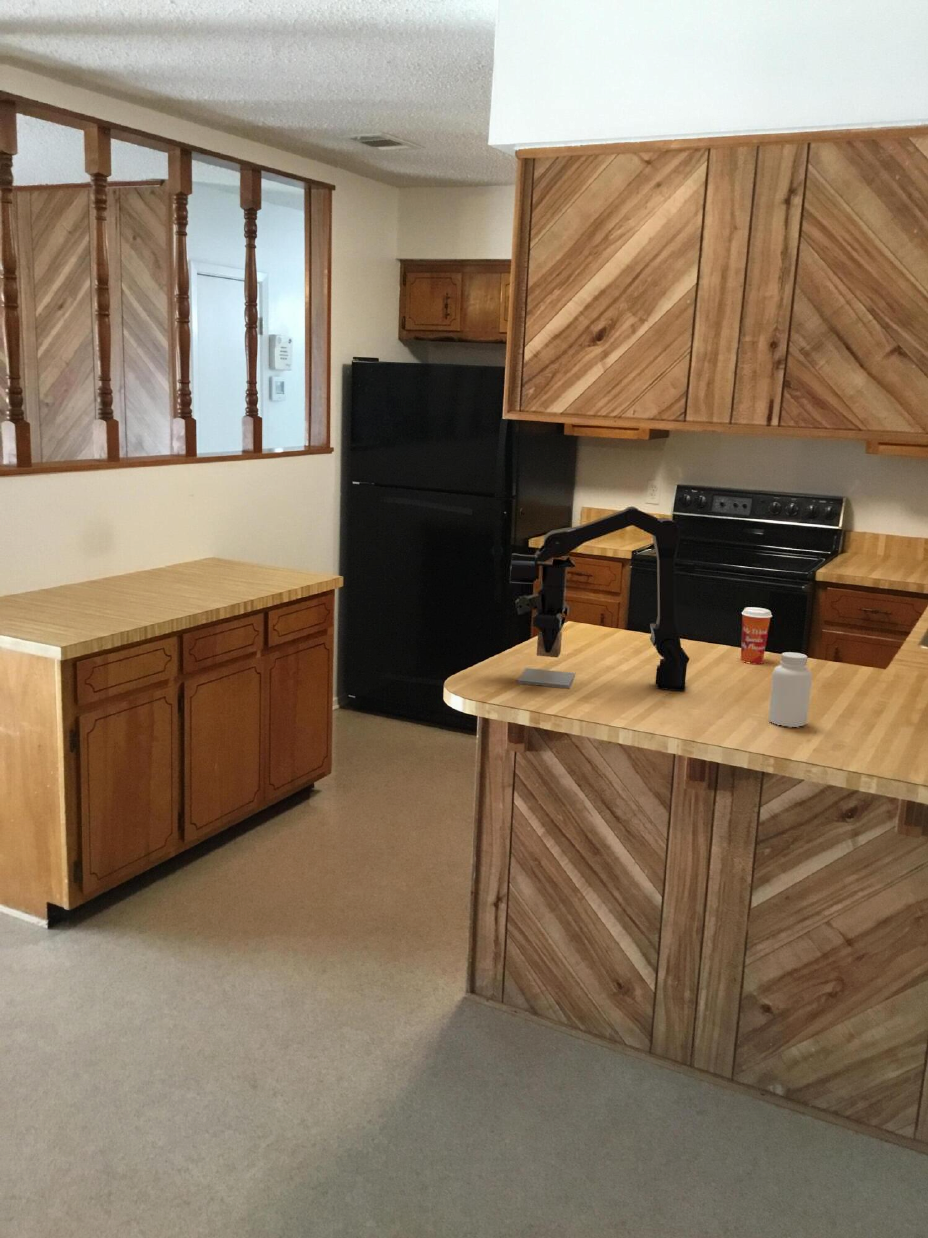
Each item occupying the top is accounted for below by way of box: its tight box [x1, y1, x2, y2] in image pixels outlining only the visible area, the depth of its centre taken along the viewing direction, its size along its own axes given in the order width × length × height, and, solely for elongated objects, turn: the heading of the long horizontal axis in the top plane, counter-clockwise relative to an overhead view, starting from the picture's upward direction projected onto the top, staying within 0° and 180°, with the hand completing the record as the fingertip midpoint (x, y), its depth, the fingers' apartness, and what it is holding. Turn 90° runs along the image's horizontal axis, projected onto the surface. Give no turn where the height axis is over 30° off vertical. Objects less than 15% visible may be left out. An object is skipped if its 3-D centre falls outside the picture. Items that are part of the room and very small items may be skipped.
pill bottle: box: [768, 651, 813, 728], centre depth 228 cm, size 8×8×15 cm
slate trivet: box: [517, 667, 576, 690], centre depth 255 cm, size 12×12×1 cm
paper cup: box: [740, 606, 773, 663], centre depth 282 cm, size 8×8×14 cm
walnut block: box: [536, 630, 563, 658], centre depth 253 cm, size 5×5×5 cm
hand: (549, 650), depth 254 cm, fingers closed on walnut block, 5 cm apart
